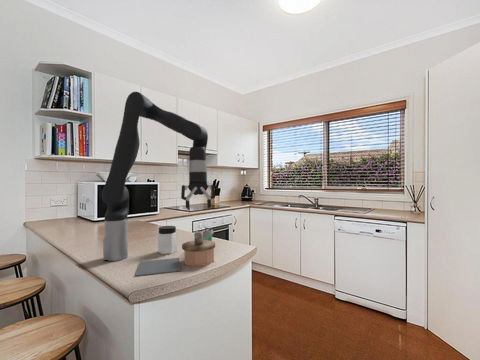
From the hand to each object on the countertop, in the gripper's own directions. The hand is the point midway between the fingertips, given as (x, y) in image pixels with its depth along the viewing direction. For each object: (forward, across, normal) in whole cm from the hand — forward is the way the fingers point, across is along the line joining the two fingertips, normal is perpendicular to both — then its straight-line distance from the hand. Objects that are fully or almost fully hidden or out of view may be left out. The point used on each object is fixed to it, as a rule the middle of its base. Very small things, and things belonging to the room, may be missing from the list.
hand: (198, 209), depth 103 cm
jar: (+22, -13, +19) cm, 32 cm away
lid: (+16, 0, 0) cm, 16 cm away
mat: (+22, -16, -2) cm, 27 cm away
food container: (+22, +6, +16) cm, 28 cm away
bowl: (+22, 0, 0) cm, 22 cm away
